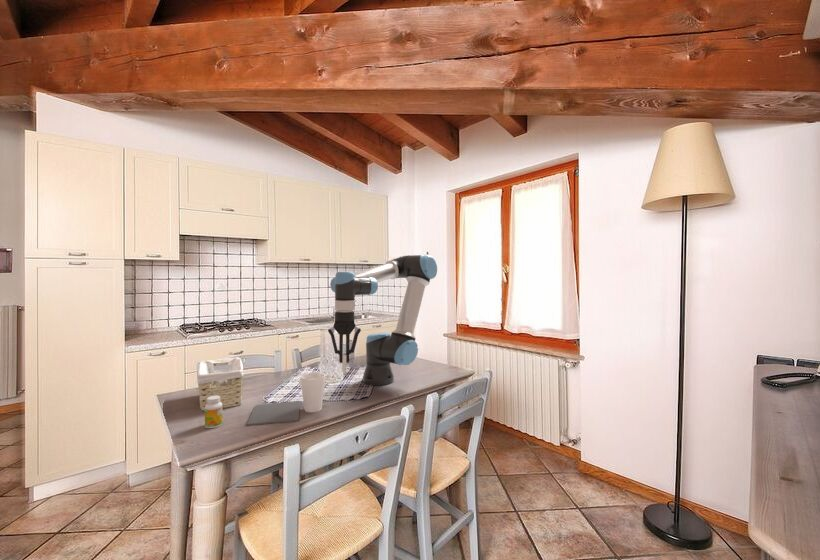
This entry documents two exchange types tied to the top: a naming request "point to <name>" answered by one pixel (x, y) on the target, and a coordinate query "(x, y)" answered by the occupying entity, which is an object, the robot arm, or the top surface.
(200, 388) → the storage basket
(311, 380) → the foam cup
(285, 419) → the charcoal mat
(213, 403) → the supplement bottle
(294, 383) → the top surface
